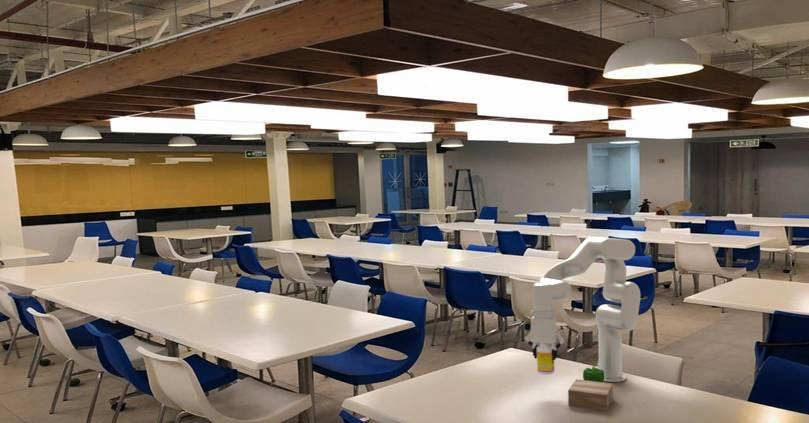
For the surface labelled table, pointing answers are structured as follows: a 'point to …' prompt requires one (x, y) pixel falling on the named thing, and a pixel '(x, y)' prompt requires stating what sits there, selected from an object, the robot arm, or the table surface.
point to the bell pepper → (593, 374)
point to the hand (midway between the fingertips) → (545, 358)
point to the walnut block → (590, 394)
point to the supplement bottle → (545, 359)
